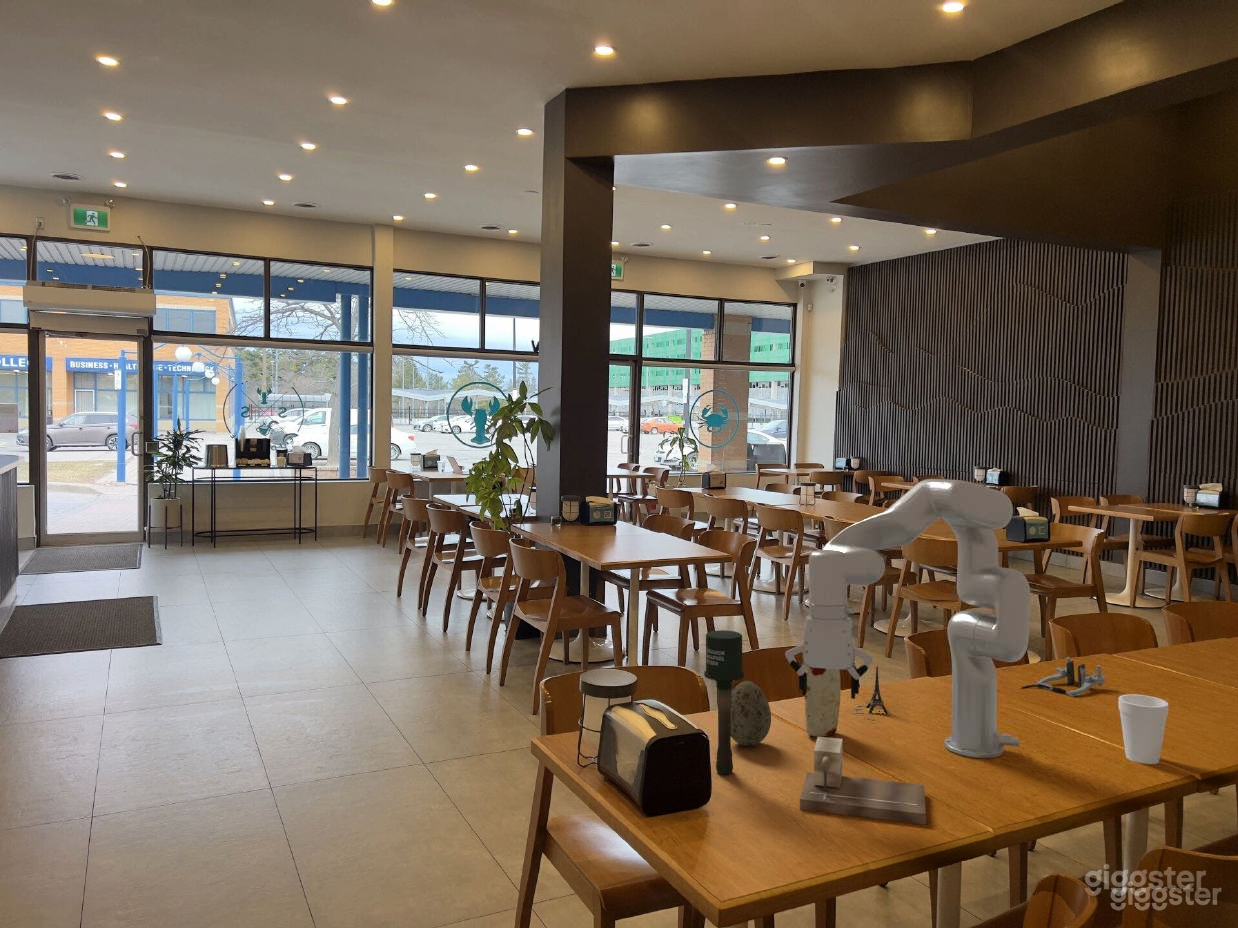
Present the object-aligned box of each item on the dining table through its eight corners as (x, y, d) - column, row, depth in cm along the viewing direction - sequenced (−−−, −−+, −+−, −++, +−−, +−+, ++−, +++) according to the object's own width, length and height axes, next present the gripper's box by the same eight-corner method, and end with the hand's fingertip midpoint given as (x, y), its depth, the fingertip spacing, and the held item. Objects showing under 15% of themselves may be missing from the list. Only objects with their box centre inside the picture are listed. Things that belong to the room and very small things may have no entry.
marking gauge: (842, 780, 182) (842, 738, 182) (838, 805, 170) (838, 760, 170) (817, 777, 184) (817, 736, 183) (811, 802, 172) (811, 758, 171)
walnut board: (923, 794, 176) (923, 784, 176) (925, 824, 163) (925, 813, 163) (807, 781, 183) (807, 771, 183) (799, 809, 170) (799, 798, 170)
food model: (816, 742, 206) (815, 658, 205) (797, 733, 212) (797, 651, 211) (847, 734, 211) (847, 652, 210) (828, 726, 217) (828, 646, 216)
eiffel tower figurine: (876, 702, 238) (876, 653, 237) (909, 711, 230) (909, 660, 229) (841, 713, 229) (842, 662, 228) (875, 723, 221) (875, 671, 220)
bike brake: (1065, 675, 257) (1021, 696, 248) (1063, 653, 257) (1019, 673, 247) (1110, 687, 245) (1065, 710, 236) (1109, 664, 245) (1063, 685, 235)
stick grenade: (701, 765, 192) (700, 630, 191) (739, 764, 193) (739, 628, 192) (708, 781, 184) (707, 639, 183) (748, 779, 185) (748, 638, 184)
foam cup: (1150, 769, 188) (1151, 709, 187) (1109, 755, 196) (1109, 698, 196) (1176, 761, 192) (1177, 702, 192) (1135, 748, 200) (1135, 692, 200)
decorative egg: (736, 755, 198) (735, 689, 198) (717, 739, 209) (717, 677, 208) (779, 750, 201) (779, 685, 201) (758, 734, 212) (758, 673, 211)
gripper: (873, 609, 178) (873, 692, 179) (787, 605, 183) (788, 686, 184) (872, 617, 171) (872, 704, 172) (782, 613, 176) (783, 697, 177)
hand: (828, 695), depth 178 cm, fingers open, 9 cm apart
